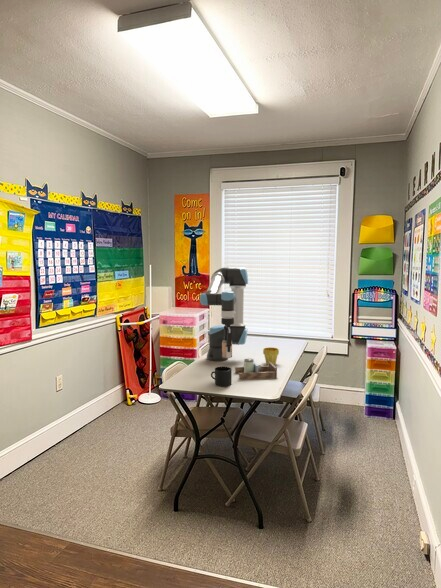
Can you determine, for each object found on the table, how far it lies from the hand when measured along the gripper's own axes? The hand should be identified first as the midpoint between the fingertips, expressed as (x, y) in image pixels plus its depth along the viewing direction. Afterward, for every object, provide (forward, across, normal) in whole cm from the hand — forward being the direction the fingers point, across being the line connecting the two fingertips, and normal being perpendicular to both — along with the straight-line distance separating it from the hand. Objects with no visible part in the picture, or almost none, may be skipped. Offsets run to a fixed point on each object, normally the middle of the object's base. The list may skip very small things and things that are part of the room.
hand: (227, 355), depth 242 cm
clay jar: (+1, 0, 0) cm, 1 cm away
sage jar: (+13, 0, -13) cm, 18 cm away
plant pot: (+13, +26, -34) cm, 45 cm away
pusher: (+12, 0, -18) cm, 22 cm away
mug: (+13, -14, +6) cm, 20 cm away
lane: (+13, 0, -17) cm, 21 cm away
